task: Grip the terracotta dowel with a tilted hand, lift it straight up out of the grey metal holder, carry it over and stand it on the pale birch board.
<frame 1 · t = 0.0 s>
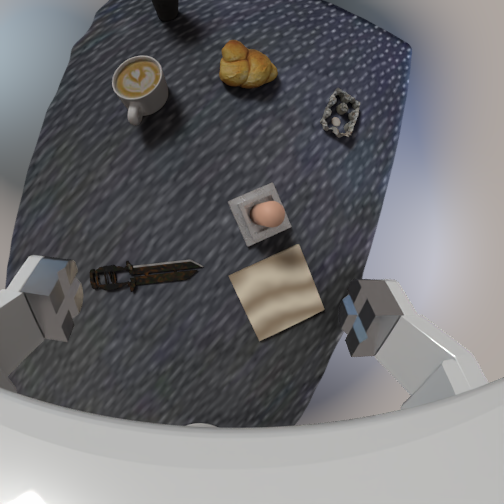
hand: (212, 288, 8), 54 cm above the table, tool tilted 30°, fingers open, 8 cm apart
coffee mug: (143, 102, 57), on the table
holder: (259, 214, 63), on the table
board: (277, 292, 66), on the table
knife: (144, 271, 62), on the table
dowel: (260, 214, 62), point 1 cm above the table, touching holder
bread roll: (246, 75, 59), on the table
drinking cup: (168, 14, 54), on the table
egg carton: (336, 116, 63), on the table
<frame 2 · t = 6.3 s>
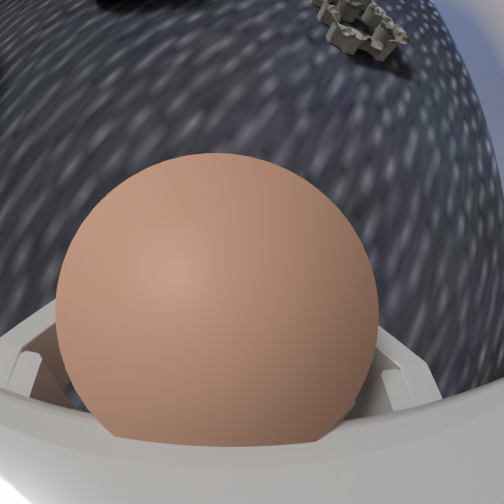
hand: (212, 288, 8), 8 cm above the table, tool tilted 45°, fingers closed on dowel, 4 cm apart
dowel: (207, 306, 15), point 1 cm above the table, touching gripper, holder
egg carton: (345, 27, 23), on the table
when the fingers open (10 cm above the table, at t = 12.6 s): dowel drops 1 cm, resting on board.
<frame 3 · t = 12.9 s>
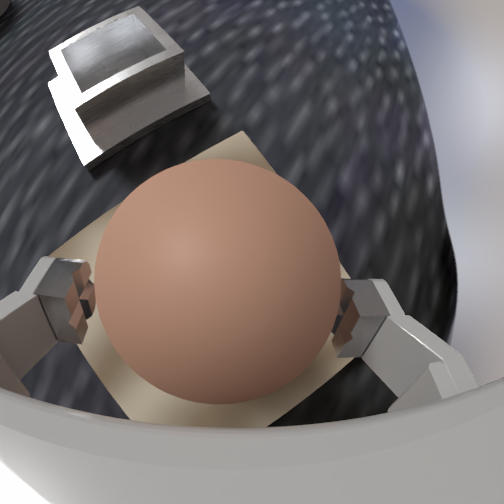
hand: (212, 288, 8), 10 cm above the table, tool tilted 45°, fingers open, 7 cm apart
holder: (121, 91, 19), on the table
board: (207, 306, 18), on the table
dowel: (206, 306, 17), point 1 cm above the table, touching board
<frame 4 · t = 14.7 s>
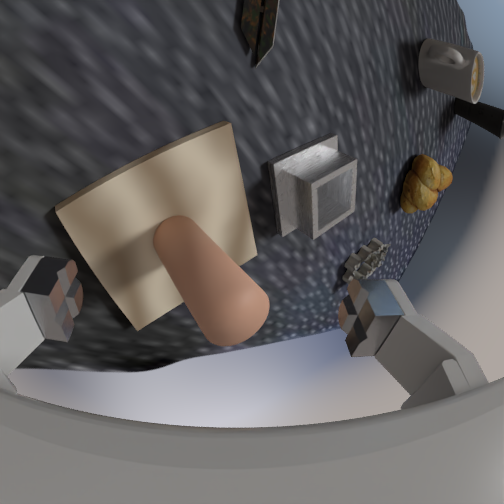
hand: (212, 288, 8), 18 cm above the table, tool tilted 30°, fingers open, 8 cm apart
coffee mug: (425, 57, 38), on the table
holder: (304, 182, 36), on the table
board: (170, 231, 28), on the table
dowel: (176, 238, 27), point 2 cm above the table, tilted 10°, touching board
bread roll: (408, 178, 55), on the table
drinking cup: (456, 104, 55), on the table
egg carton: (358, 257, 57), on the table
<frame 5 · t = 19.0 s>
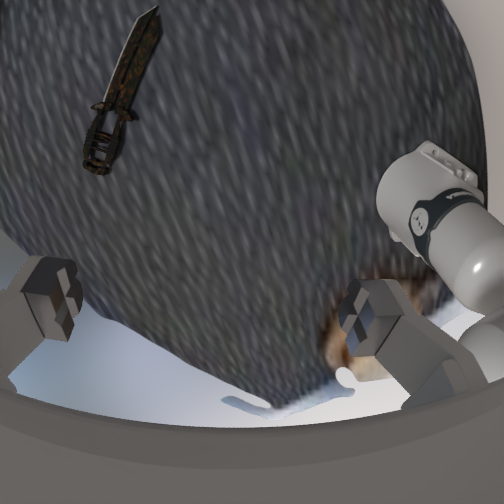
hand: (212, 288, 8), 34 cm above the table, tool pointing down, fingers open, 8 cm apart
knife: (119, 89, 34), on the table
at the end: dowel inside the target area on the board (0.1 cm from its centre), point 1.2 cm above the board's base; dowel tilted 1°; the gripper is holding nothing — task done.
